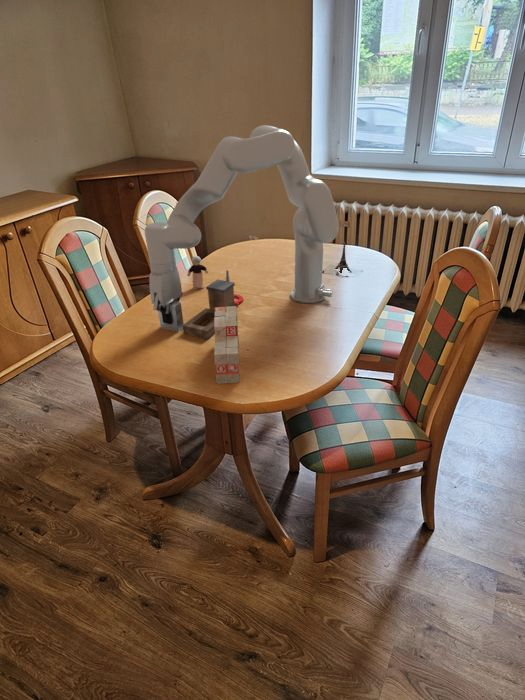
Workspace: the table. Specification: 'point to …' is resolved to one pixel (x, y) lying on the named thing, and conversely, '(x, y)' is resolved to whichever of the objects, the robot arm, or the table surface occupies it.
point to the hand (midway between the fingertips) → (171, 320)
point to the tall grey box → (173, 317)
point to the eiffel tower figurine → (343, 261)
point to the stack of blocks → (226, 345)
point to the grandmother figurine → (197, 273)
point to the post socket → (211, 309)
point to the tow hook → (234, 294)
